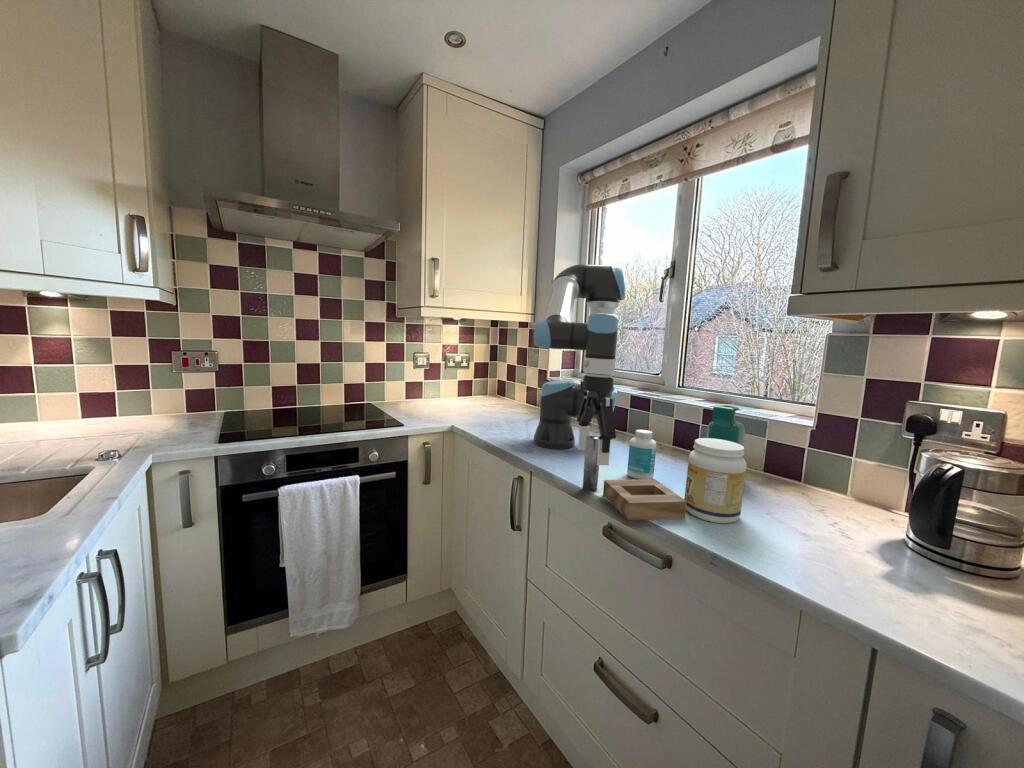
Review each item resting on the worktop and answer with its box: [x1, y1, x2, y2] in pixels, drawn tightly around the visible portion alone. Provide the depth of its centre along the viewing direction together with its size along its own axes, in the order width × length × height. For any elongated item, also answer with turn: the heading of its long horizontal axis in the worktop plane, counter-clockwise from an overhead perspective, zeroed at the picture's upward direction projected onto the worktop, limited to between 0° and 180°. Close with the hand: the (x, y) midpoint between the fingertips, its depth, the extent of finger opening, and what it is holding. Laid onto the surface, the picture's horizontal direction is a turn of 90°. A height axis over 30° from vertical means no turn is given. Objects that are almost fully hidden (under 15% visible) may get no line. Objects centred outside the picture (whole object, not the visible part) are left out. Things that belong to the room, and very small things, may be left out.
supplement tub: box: [683, 437, 748, 524], centre depth 96 cm, size 12×12×17 cm
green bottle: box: [706, 405, 746, 447], centre depth 121 cm, size 10×8×22 cm
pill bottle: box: [626, 429, 657, 480], centre depth 120 cm, size 8×7×14 cm
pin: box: [581, 435, 600, 493], centre depth 107 cm, size 4×4×14 cm
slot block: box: [602, 478, 687, 521], centre depth 99 cm, size 14×14×4 cm
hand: (592, 456), depth 107 cm, fingers open, 13 cm apart
